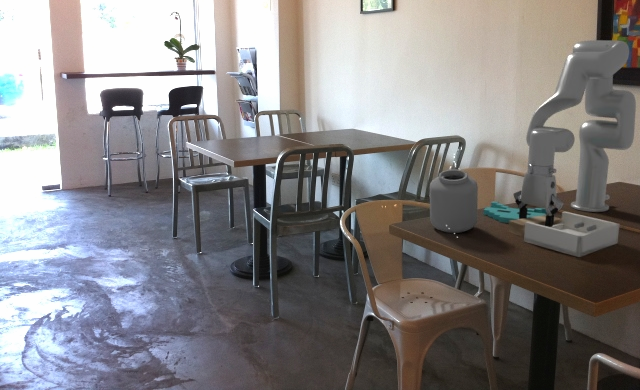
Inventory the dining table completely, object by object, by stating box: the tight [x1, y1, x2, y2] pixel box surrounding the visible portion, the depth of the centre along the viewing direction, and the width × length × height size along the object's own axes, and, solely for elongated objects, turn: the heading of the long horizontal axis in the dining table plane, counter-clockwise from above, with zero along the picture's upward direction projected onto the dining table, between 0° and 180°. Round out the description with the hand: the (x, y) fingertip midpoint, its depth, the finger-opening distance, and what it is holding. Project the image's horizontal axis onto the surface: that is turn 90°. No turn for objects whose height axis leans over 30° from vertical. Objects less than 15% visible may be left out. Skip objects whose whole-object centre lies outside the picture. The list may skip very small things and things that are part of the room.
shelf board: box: [508, 214, 562, 238], centre depth 200 cm, size 16×6×4 cm, turn 116°
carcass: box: [523, 210, 620, 258], centre depth 188 cm, size 20×18×6 cm
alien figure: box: [483, 201, 548, 224], centre depth 217 cm, size 20×2×20 cm
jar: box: [429, 153, 479, 238], centre depth 199 cm, size 19×15×25 cm
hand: (535, 223), depth 199 cm, fingers open, 9 cm apart
